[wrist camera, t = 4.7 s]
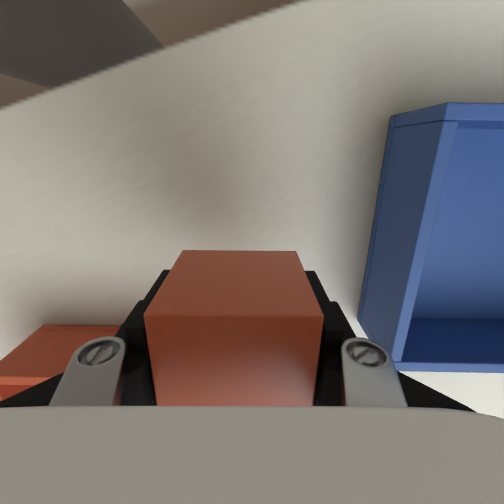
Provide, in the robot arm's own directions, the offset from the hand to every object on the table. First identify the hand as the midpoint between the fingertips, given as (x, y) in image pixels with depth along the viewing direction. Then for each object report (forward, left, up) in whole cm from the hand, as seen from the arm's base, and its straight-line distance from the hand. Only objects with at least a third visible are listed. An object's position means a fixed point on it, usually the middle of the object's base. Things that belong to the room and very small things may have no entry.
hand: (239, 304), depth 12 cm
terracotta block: (0, 0, 0) cm, 0 cm away
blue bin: (-2, +14, -6) cm, 15 cm away
